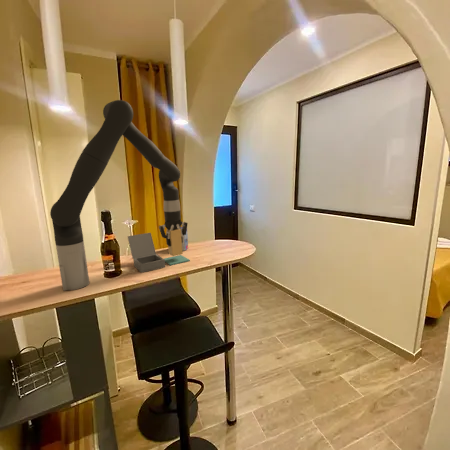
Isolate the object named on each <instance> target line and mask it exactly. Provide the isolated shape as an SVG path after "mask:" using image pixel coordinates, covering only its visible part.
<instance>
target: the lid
mask: <svg viewBox="0 0 450 450" xmlns="http://www.w3.org/2000/svg"><path fill="white" fill-rule="evenodd" d="M127 241H128V244H129V248H130V252H131V253H130V254H131V257H132V259H134V258H139V257H144V256H149V255H154V254H157V252H156V248H155V243H154V241H153V235H152V233H151V232H146V233H140V234H134V235H128V236H127Z"/></svg>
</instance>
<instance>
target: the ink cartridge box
mask: <svg viewBox="0 0 450 450" xmlns="http://www.w3.org/2000/svg"><path fill="white" fill-rule="evenodd" d="M182 228H183V226H181V227H180V229H181V231H182ZM182 238H183V243H182V252H183V251H184V252H185V251H187V250H188V249H189V237H188V230H187V231H186V235H183V236H182Z"/></svg>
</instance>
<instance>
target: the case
mask: <svg viewBox="0 0 450 450" xmlns="http://www.w3.org/2000/svg"><path fill="white" fill-rule="evenodd" d="M132 259H133V258H132ZM133 266H134V267H135V268H136V269H137V270H138V271H139V273H145V272H149V271H150V272H151V271H155V270H158V269H162V268H166V262H165V259H164V257H162V256H160V255H158V254H157V253H156V254H154V255H149V256H144V257H139V258H134V259H133Z"/></svg>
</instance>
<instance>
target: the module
mask: <svg viewBox="0 0 450 450" xmlns="http://www.w3.org/2000/svg"><path fill="white" fill-rule="evenodd" d="M168 232H169V230H168ZM170 241H171V246H170V247H169V246H168V245H167V248H168V254H169V255H170V256H171V257H173V256H178V255H183V251H182V239H181V229H177V230H172V231H170Z"/></svg>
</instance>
